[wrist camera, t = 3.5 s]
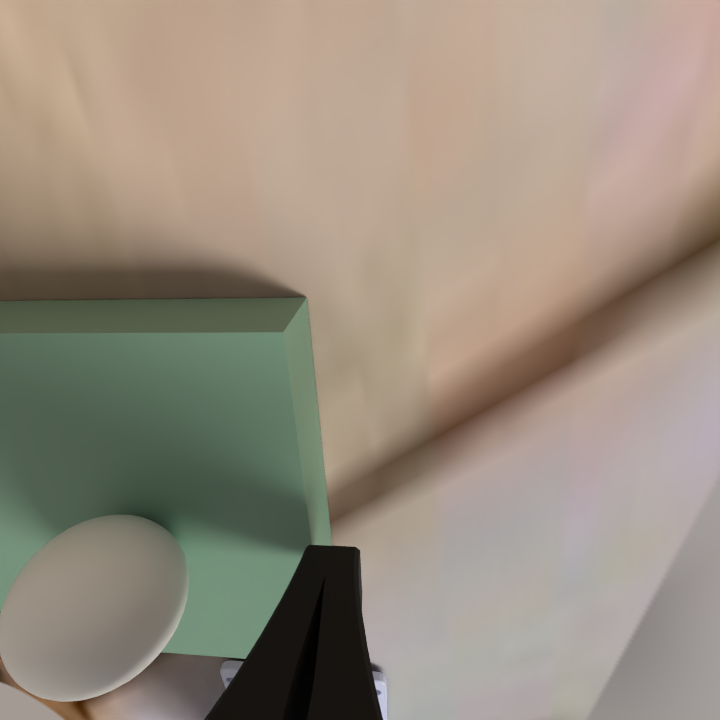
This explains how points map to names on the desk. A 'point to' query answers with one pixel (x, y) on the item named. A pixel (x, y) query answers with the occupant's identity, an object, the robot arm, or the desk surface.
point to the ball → (93, 607)
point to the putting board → (168, 443)
